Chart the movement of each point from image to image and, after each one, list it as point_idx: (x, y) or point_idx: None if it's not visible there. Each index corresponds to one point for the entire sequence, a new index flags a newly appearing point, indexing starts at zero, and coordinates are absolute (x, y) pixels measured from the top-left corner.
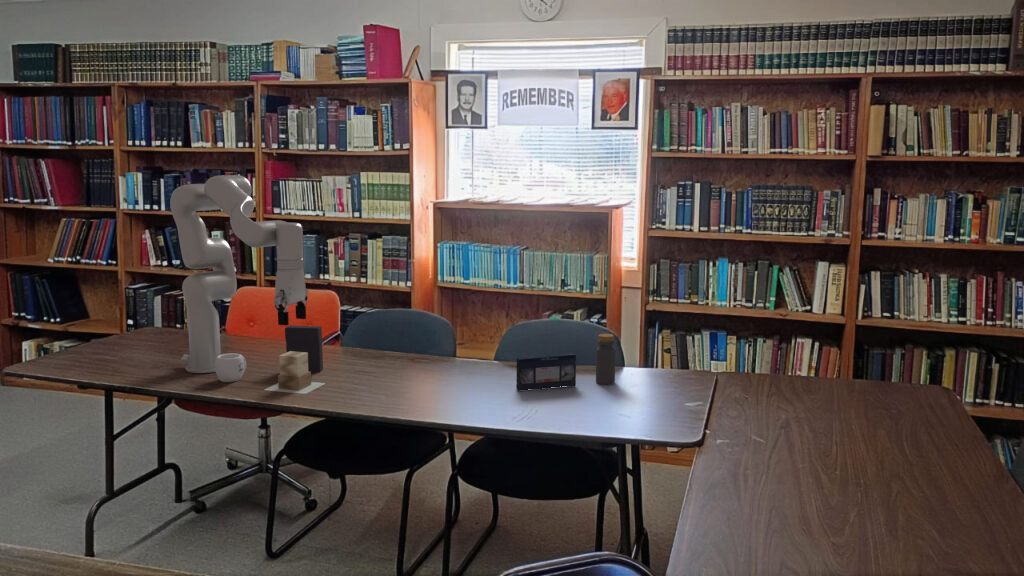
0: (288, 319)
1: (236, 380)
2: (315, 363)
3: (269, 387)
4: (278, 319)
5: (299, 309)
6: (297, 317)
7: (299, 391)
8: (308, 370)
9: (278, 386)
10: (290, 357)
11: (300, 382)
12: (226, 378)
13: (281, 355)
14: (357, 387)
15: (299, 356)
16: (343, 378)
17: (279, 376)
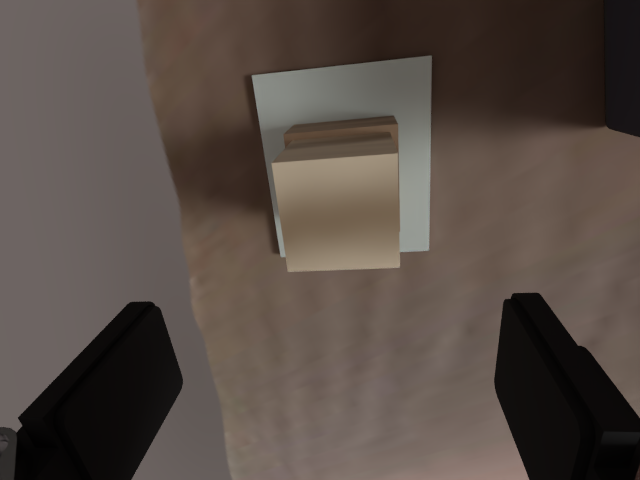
0: (152, 432)
1: None
2: (636, 112)
3: (292, 74)
4: (100, 340)
5: (545, 435)
6: (505, 320)
7: None
8: (612, 68)
9: (292, 126)
10: (283, 231)
11: None
12: None
13: (280, 172)
14: (433, 349)
15: (311, 269)
16: (539, 258)
17: (285, 141)
